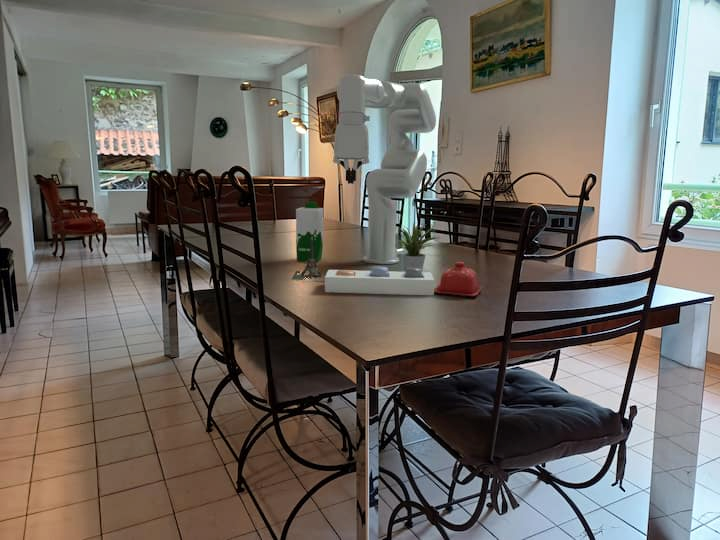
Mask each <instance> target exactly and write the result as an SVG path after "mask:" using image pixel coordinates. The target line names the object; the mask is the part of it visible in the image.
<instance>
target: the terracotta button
mask: <svg viewBox="0 0 720 540" xmlns="http://www.w3.org/2000/svg"><path fill="white" fill-rule="evenodd" d="M338 270H339V271H337V275H338V276H354V271H352V269H351V270H350V269H338Z"/></svg>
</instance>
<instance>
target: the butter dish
mask: <svg viewBox="0 0 720 540" xmlns="http://www.w3.org/2000/svg"><path fill="white" fill-rule="evenodd" d="M453 264H454V267H451V268H447V269H446V270H444V271H443V272H442V273H441V274H442V275H441V276H440V277H441V278H440V283H439V284H438V285H437V286H436V287H434V293H436V294H441V295H447V294H450V295H449V296H456V295H461V296H460V297H465V296H470V297H476V296H477V295H478V294H479V293H480V291H482V290H483V288H484V287H483V286H482V285H479V284H478V278H477V277H478V276H477V273H476V271H475V270H473V269H471V268H467V267H465V262H463V261H455V262H454V263H453Z"/></svg>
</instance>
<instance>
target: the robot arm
mask: <svg viewBox="0 0 720 540" xmlns="http://www.w3.org/2000/svg"><path fill="white" fill-rule="evenodd" d="M336 97H337V100H338V101H339V102H338V106H339V107H338V110H339V111H338V123H337V124H336V126H335V133H334V145H333V160H332V162H333V163H334V164H338V165H341V166H342V167H343V168H344V170H345V181H346V182H347V184H348V185H350V184H351V185H353V184H354V183H355V182H356V181H357V170H358V169H359V168H360V167H361V166H364V165H366V164H370V159H369V154H370V153H369V151H370V149H369V144H370V142H369V139H370V138H369V127H368V125H367V124H365V123H366V122H369V121H370V118H371V117H370V116H369V115H366V108H369V109H382V110H383V109H385V110H391V111H393V110H394V111H393V112H392V113H391V114H390V116H389V122H388V123H389V124H388V126H389V136H390V144H389V147H388V148H387V150H386V152H385V153H384V155H383V156H382V159H381V162H380V168H377V169H373V170H371V171H369V172H368V174H367V176H366V180H365V185H366V191H367V193H366V194H367V199H368V203H367V204H368V215H367V216H368V219H367V221H368V223H367V225H368V226H367V255H365V256H363V257H362V261H363V262H364V263H368V264H372V265H373V264H375V265H391V264H397V263H399V262H400V258H399V257H398V256H397V255H402V254H404V252H405V251H404V248H397V247H396V234H397V233H396V231H397V229H394V228H396V227H397V226H396V225H397V208H396V205H395V203H393V201H392V199H410V198H413V197H414V196H415V195H416V193H417V191H418V190H419V188H420V185H421V183H422V181H423V179H424V177H425V174H426V172H427V167H428V159H427V158H428V157H427V155H426V154H425V152H424V151H422V150H421V149H415V148H414V144H413V141H412V140H411V139H410V137H409V136H408V135H407V134H425V133H426V134H428V133H431V132H432V131H434V130H435V127H436V125H437V115H436V112H435V109H434V106H433V103H432V99H431V97H430V94H429V92H428V90H427V88H426V86H425V85H424V84H423V83H419V82H416V83H415V82H413V83H397V82H391V81H387V80H384V81H383V80H382V81H381V80H378V79H377V78H373V77H364V76H363V75H359V74H353V73H352V74H351V73H350V74H343V75H342V76H340V79H339V84H338V86H337V89H336ZM349 160H353V165H352V168H351V167H350V164H349V163H350V162H349Z"/></svg>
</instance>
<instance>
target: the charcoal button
mask: <svg viewBox="0 0 720 540" xmlns="http://www.w3.org/2000/svg"><path fill="white" fill-rule="evenodd" d="M422 272H423V270H422V269H421V268H415V267H409V268H405V277H410V278H422Z"/></svg>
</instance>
